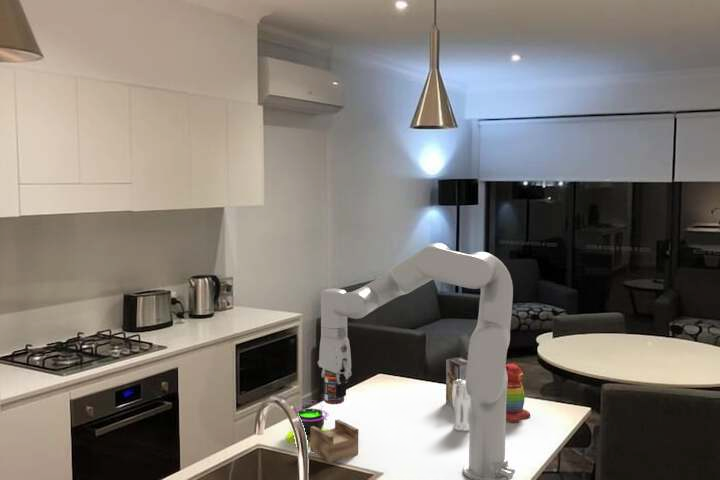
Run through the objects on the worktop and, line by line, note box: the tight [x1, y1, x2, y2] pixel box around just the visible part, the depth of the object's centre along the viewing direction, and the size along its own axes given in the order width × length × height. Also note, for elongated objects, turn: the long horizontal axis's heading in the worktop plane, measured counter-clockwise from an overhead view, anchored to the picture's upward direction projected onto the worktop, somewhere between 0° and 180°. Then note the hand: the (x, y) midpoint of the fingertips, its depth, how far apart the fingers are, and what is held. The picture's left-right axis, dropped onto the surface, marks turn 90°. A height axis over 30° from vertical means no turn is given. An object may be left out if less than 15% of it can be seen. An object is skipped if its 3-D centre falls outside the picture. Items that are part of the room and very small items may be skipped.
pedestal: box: [309, 419, 359, 463], centre depth 192 cm, size 10×10×7 cm
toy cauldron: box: [285, 400, 329, 447], centre depth 205 cm, size 15×15×11 cm
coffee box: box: [445, 356, 468, 407], centre depth 233 cm, size 9×6×16 cm
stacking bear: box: [505, 362, 531, 424], centre depth 223 cm, size 11×10×18 cm
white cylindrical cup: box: [452, 379, 470, 433], centre depth 212 cm, size 7×7×15 cm
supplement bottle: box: [323, 370, 345, 405], centre depth 191 cm, size 6×6×11 cm
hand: (334, 393), depth 191 cm, fingers closed on supplement bottle, 6 cm apart
